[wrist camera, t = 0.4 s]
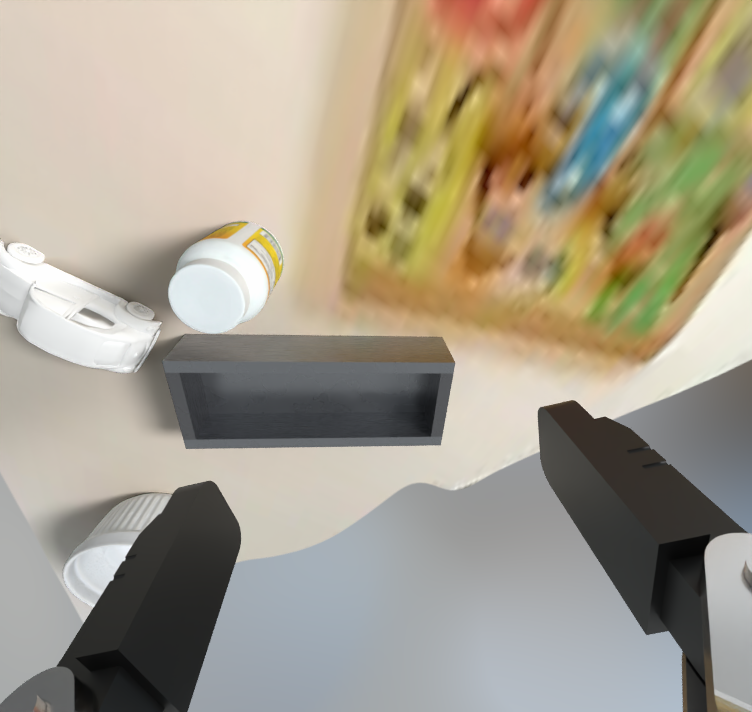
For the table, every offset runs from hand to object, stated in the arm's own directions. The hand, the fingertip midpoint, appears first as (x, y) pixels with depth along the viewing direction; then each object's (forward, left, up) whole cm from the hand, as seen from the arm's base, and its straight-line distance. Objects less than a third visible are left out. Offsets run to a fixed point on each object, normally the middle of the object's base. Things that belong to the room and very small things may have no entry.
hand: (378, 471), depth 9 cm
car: (+5, -22, -23) cm, 32 cm away
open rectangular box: (+12, -3, -22) cm, 25 cm away
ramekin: (+32, -21, -23) cm, 44 cm away
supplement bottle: (+1, -8, -23) cm, 24 cm away
